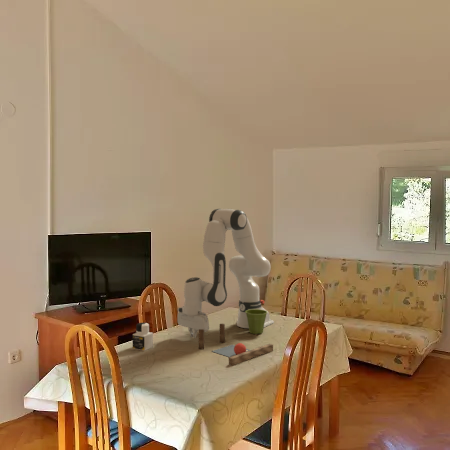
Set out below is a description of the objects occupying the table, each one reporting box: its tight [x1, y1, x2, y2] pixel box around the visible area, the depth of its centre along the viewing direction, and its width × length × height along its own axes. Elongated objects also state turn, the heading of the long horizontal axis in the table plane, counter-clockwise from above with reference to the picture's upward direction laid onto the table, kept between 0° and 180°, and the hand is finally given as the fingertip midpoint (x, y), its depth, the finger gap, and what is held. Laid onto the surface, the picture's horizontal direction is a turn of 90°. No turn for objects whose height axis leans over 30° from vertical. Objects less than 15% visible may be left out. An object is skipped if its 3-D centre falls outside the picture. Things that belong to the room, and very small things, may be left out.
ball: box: [234, 342, 247, 355], centre depth 230 cm, size 6×6×6 cm
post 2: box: [219, 323, 226, 344], centre depth 251 cm, size 3×3×9 cm
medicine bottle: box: [132, 322, 154, 352], centre depth 242 cm, size 7×7×12 cm
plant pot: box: [245, 309, 268, 335], centre depth 268 cm, size 12×12×11 cm
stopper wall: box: [228, 343, 274, 366], centre depth 228 cm, size 28×2×3 cm, turn 136°
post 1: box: [198, 329, 205, 350], centre depth 241 cm, size 3×3×9 cm
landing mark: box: [211, 344, 251, 358], centre depth 236 cm, size 14×14×1 cm
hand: (193, 336), depth 254 cm, fingers closed
